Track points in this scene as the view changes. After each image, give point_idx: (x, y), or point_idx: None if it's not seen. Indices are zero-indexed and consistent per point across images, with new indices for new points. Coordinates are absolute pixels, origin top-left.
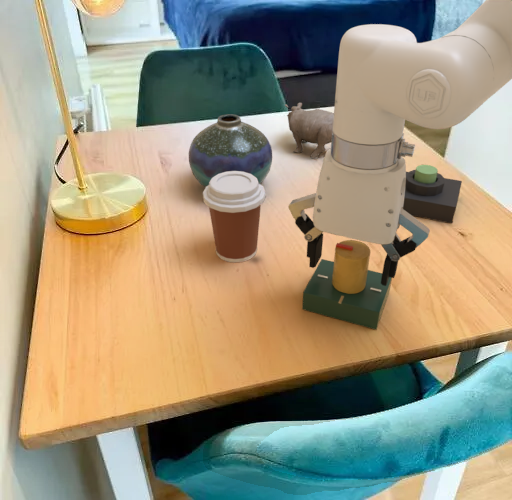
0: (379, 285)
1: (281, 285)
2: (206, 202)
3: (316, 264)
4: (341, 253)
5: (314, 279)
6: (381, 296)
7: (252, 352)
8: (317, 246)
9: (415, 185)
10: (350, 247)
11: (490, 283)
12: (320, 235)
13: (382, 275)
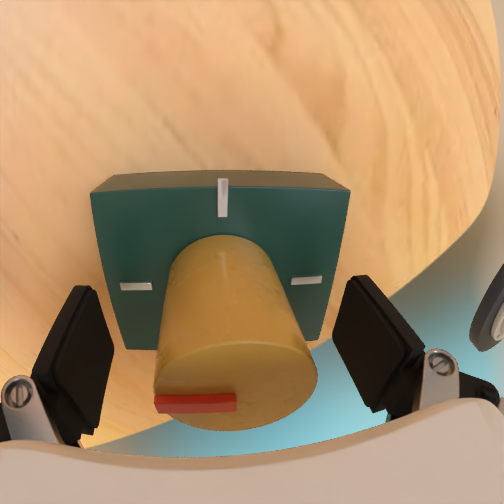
0: (315, 254)
1: (55, 258)
2: None
3: (109, 335)
4: (201, 423)
5: (122, 302)
6: (322, 294)
7: (127, 399)
8: (94, 405)
9: None
10: (226, 408)
11: (486, 95)
12: (63, 391)
13: (345, 363)
